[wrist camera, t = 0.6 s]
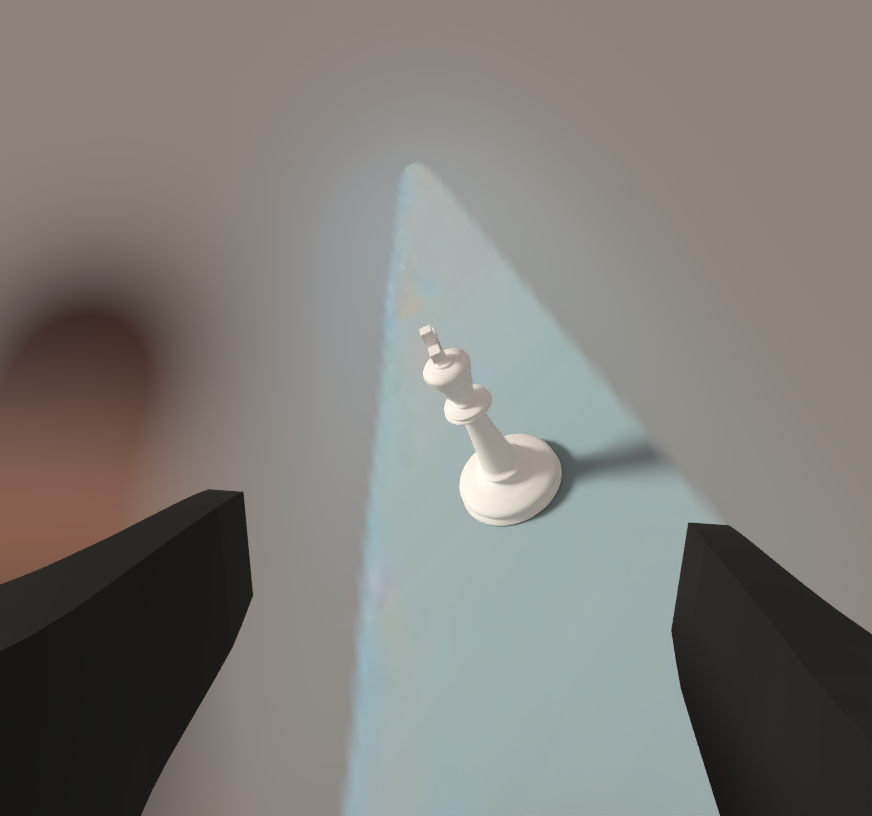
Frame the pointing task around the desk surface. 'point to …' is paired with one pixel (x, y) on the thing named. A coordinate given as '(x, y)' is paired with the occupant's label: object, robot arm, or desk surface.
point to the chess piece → (491, 446)
